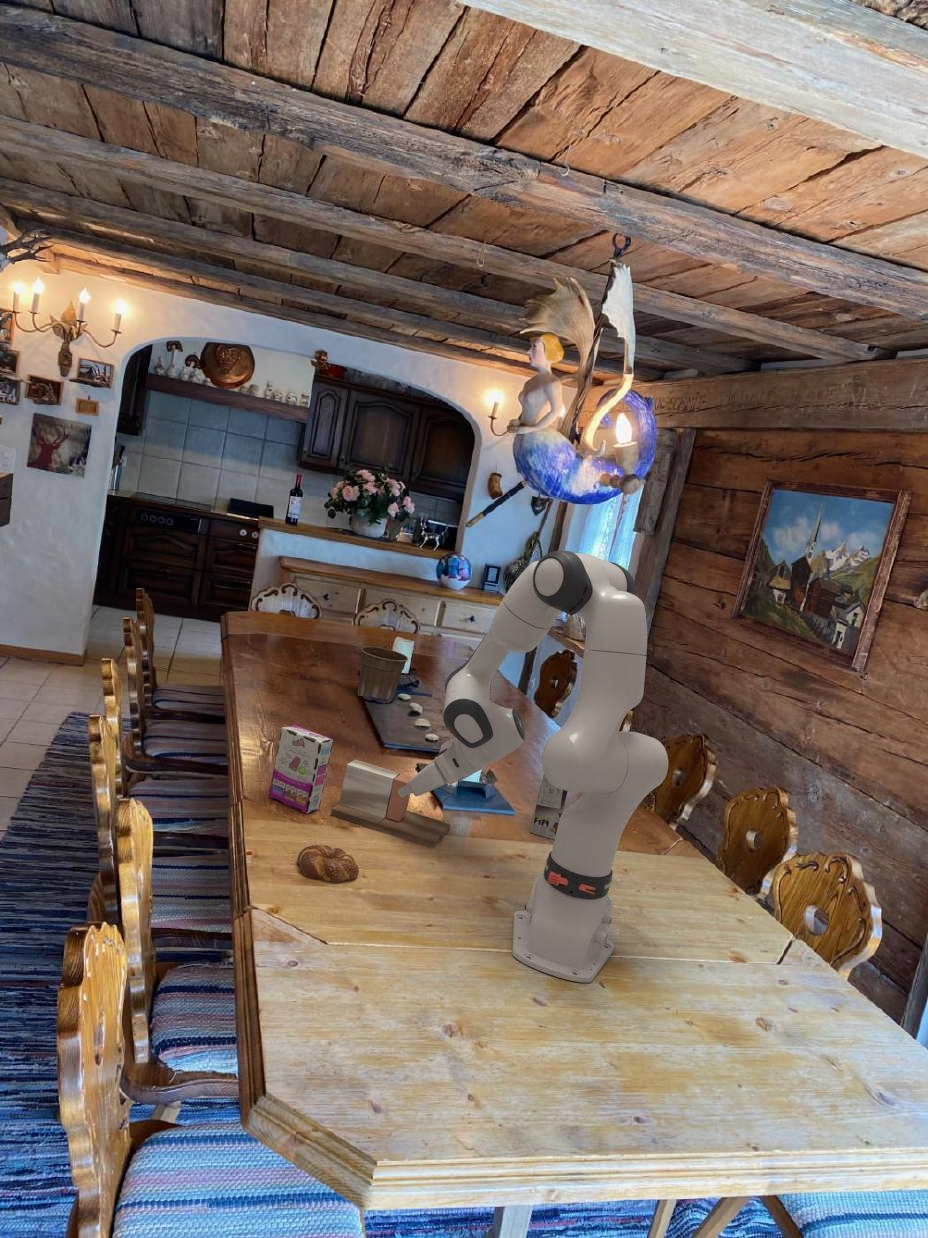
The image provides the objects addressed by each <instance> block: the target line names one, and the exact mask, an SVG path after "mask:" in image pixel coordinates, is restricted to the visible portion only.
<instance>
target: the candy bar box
mask: <svg viewBox="0 0 928 1238" xmlns="http://www.w3.org/2000/svg"><path fill="white" fill-rule="evenodd" d="M333 744H334V739H332V738H330V737H328V736H324V735H323V734H320V733H317V732H315V731H311V730H309V729H306V728H304V727H302V726H298V725H296V724H292V725H289V726H284V727H281V729H280V734H279V740H278V745H277V749H276V750H277V751H276V755H275V761H274V765H273V772H272V777H271V782H270V786H269V787H270V788H269V793H268V798H270V799H272V800H274V801H277V802H279V803H281V804H284V805H285V806H288V807H290V808H292V809H295V810H296V811H299V812H302V813H303V814H310V813H313V812H316V811H318V810H320V809H321V804H322V800H323V799H322V798H323V795H324V789H325V784H326V778H327V773H328V770H329V764H330V759H331V755H332V754H331V753H332V748H333Z"/></svg>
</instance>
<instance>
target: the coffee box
mask: <svg viewBox="0 0 928 1238" xmlns="http://www.w3.org/2000/svg"><path fill="white" fill-rule="evenodd" d="M568 792H569V791H566V790H562V789H559V788H556V787H554V786H552V785H551V784H550V783H549V782H548V780H547V779H546V777H545V775H544V774H543V776H542V781H541V785H540V788H539V792H538V797H537V800H536V804H535V809H534V813H533V817H532V820H531V821H532V822H531V826H530V830H529V832H530V834H533V835H537V836H541V837H545V838H547V839H551V840H553V841H554V840H555V836H556V832H557V828H558V824H559V820H560V817H561V815H562V813H563V812H564V808H565V803H566V800H567V795H568Z"/></svg>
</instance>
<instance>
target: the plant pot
mask: <svg viewBox="0 0 928 1238" xmlns="http://www.w3.org/2000/svg"><path fill="white" fill-rule="evenodd" d="M360 652H361V655H360V669H359V670H360V671H359V679H358V687H357V693H356V694H357V696H358V697H359V696H372V697H375V698H382V699H391V698H393V697H395V694H396V692H397V688H398V685H399V681H400V678H401V676H402V672H403V671H404V669H405V666H406V663H407V662H408V661H409V657H408V656H407V655H406V654H403V653H402V652H399V651H396V650H393V649H389V648H384V647H379V646H362V647H361V648H360ZM393 699H394V698H393Z"/></svg>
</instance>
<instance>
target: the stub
mask: <svg viewBox="0 0 928 1238" xmlns="http://www.w3.org/2000/svg"><path fill="white" fill-rule="evenodd" d="M413 777H414V776H412V775H411V776H410V775H407V774H403V773H400V775H399V776H398V777H396V778H395V779H394V784H393V788H392V793H391V798H390V802H389V807H388V812H387V816H386V818H389V819H392V820H395V821H398V822H399V821H400V820H401V819H402V818H403V817H404V816H405V815H406V811H408V806H409V801H410V797H411V794H408V795H406V796H404V797H400V795H399V793H398V790H399V789H400V788H402V787H404V786H406V785H407V784H408V781H409V780H410V779H412V778H413Z"/></svg>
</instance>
